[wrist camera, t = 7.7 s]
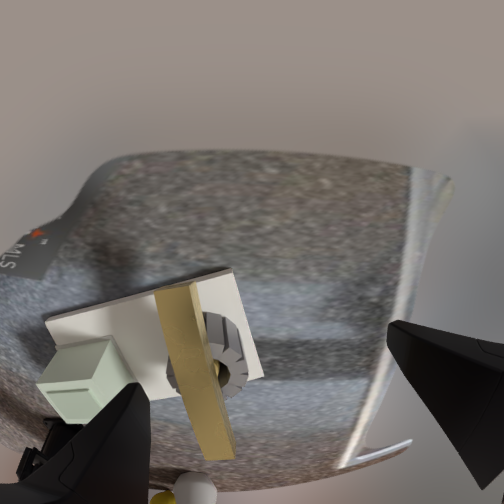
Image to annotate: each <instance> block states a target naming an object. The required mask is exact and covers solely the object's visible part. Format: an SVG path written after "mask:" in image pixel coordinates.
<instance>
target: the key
mask: <svg viewBox="0 0 504 504" xmlns="http://www.w3.org/2000/svg"><path fill="white" fill-rule="evenodd" d="M153 293H154V297H155V302H156V306H157V310H158V315H159V319H160V323H161V327H162V331H163V335H164V338H165V342H166V346H167V350H168V353H169V357H170V360H171V364H172V367H173V370H174V374H175V377H176V380H177V383H178V387H179V390H180V393H181V396H182V399H183V402H184V405H185V408H186V410H187V413H188V416H189V419H190V422H191V424H192V427H193V430H194V432H195V435H196V438H197V440H198V443H199V445H200V448H201V450H202V453H203V455H204V458H205V460H206V461H207V460H227V459H235V452H236V441H235V438H234V434H233V431H232V428H231V424H230V421H229V417H228V414H227V410H226V407H225V403H224V400H223V396H222V392H221V389H220V385H219V381H218V373H219V369H220V364H221V361H219V360H216V359H213V357H212V353H211V349H210V345H209V341H208V336H207V332H206V328H205V323H204V319H203V314H202V309H201V305H200V300H199V295H198V290H197V285H196V281H191V282H185V283H179V284H173V285H166V286H162V287H160V288H159V289H157V290H155V291H153Z"/></svg>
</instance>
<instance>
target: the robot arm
mask: <svg viewBox="0 0 504 504" xmlns="http://www.w3.org/2000/svg"><path fill="white" fill-rule="evenodd" d="M386 342H387V346H388V348H389V350H390V352H391V353H392V355H393V357H394V359H395V360H396V362H397V364H398V365H399V367H400V369H401V371H402V372H403V374H404V376H405V377H406V378H407V380H408V381H409V383H410V384H411V385H412V387H413V388H414V390H415V391H416V392H417V394H418V395H419V397H420V398H421V399H422V401H423V402H424V404H425V405H426V406H427V408H428V409H429V411H430V412H431V414H432V415H433V416H434V418H435V419H436V421H437V422H438V423H439V425H440V426H441V428H442V429H443V431H444V432H445V434H446V435H447V437H448V438H449V440H450V441H451V443H452V444H453V446H454V447H455V449H456V450H457V452H459V453H458V454H459V455H460V456H461V458H462V460H463V461H464V463H465V465H466V466H467V468H468V469H469V471H470V472H471V474H472V476H473V477H474V479H475V480H476V482H477V484H478V485H479V487H480V489H481V490H483V489H485V488H486V487H487V486H488V485H489V484H490V483H492V482H493V481H494V480H495V479H496V478H497V477H498V476H499V475H500V474H501V473H502V472H503V471H504V344H501V343H494V342H489V341H485V340H480V339H475V338H471V337H467V336H462V335H458V334H454V333H450V332H446V331H442V330H437V329H433V328H429V327H425V326H421V325H417V324H413V323H409V322H405V321H401V320H396V321H393V322H391V323H389V325H388V330H387V340H386ZM43 423H44V424H45V425H46V426H47V428H48V429H49V433H48V435H47V437H46V440H45V442H44V444H43V447H42V449H41V452H40V451H39V450H38V449H37V448H35V447H33V449H31V448H28V447H26V449H25V451H24V453H23V456H22V458H21V460H20V463H19V466H18V469H17V471H16V474H17V476H18V481H19V482H17V483H12V484H0V504H148V486H149V464H150V448H151V426H150V402H149V398H148V397H147V395H146V393H145V391H144V389H143V387H142V385H141V384H140V383H139V382H133V383H128V384H127V385H126V386H125V387H124V388H123V389H122V390H121V391H120V392H119V393H118V394H117V395H116V396H115V397H114V398H113V399H112V400H111V401H110V402H109V403H108V404H107V405H106V406H105V407H104V408H103V409H102V410H101V411H100V412H99V413H98V414H97V415H96V416H95V417H94V418H93V419H92V420H91V421H90V422H89V423H88V424H87V425H86V426H85V427H83V425H82V424H67V423H66V422H65V421H64V420H63V419H44V420H43ZM32 464H34V465H32ZM502 504H504V495H503V500H502Z"/></svg>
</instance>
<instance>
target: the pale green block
mask: <svg viewBox="0 0 504 504" xmlns="http://www.w3.org/2000/svg"><path fill="white" fill-rule="evenodd" d="M133 382H134V380H133V378H132V376H131V375H130V373H129V371H128V370H127V368H126V366H125V365H124V363H123V361H122V359H121V358H120V356H119V354H118V352H117V351H116V349H115V347H114V345H113V343H112V341H111V340H106V341H101V342H96V343H91V344H86V345H81V346H75V347H70V348H64V349H59V350H58V351H57V352H56V354H55V355H54V357H53V358H52V360H51V361H50V363H49V364H48V366H47V367H46V369H45V370H44V372H43V373H42V375H41V376H40V378H39V380H38V381H37V383H36V385H37V386H38V388H39V389H40V391H41V392H42V393H43V395H44V396H45V397H46V399H47V400H48V401H49V403H50V404H51V405H52V406H53V408H54V409H55V410H56V411H57V413H58V414H59V415H60V416H61V417H62V419H63V420H64V421H65V422H66V423H67V424H88V423H89V422H90V421H91V420H92V419H93V418H94V417H95V416H96V415H97V414H98V413H99V412H100V411H101V410H102V409H103V408H104V407H105V406H106V405H107V404H108V403H109V402H110V401H111V400H112V399H113V398H114V397H115V396H116V395H117V394H118V393H119V392H120V391H121V390H122V389H123V388H124V387H125V386H126V385H127V384H128V383H133Z"/></svg>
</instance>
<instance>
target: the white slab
mask: <svg viewBox="0 0 504 504" xmlns="http://www.w3.org/2000/svg"><path fill="white" fill-rule="evenodd" d="M191 281H196V285H197V290H198V295H199V300H200V305H201V309H202V314H203V319H204V323H205V328H206V332H207V336H208V341H209V345H210V349H211V353H212V357H213V359H216V360H219V361H221V364H220V369H219V373H218V381H219V385H220V389H221V392H222V396H223V400H227V396H228V397H230V398H232V397H233V396H235V395H236V394H237V393H239V392H240V391H241V390H242V387H245V384H246V382H247V381H249V380H252V379H256V378H260V377H263V376H264V374H263V371H262V367H261V364H260V361H259V358H258V355H257V351H256V348H255V345H254V342H253V338H252V335H251V332H250V328H249V325H248V322H247V318H246V315H245V312H244V308H243V305H242V302H241V298H240V295H239V292H238V288H237V285H236V281H235V278H234V274H233V271H232V268H230V269H226V270H223V271H219V272H215V273H212V274H208V275H205V276H201V277H197V278H194V279H190V280H186V281H183V282H179V283H185V282H191ZM179 283H176V284H179ZM172 285H173V284H172ZM157 289H159V288H157ZM157 289H154V290H150V291H146V292H142V293H139V294H135V295H131V296H128V297H124V298H120V299H116V300H113V301H109V302H105V303H101V304H98V305H94V306H90V307H86V308H83V309H79V310H75V311H71V312H67V313H63V314H60V315H56V316H52V317H49V318H48V319H47V320H46V321H45V324H46V326H47V328H48V330H49V332H50V334H51V336H52V337H53V339H54V341H55V343H56V345H57V346H55V348H56V350H57V351H58V350H59V349H64V348H70V347H75V346H81V345H86V344H91V343H96V342H101V341H106V340H111V341H112V343H113V345H114V347H115V349H116V351H117V352H118V354H119V356H120V358H121V359H122V361H123V363H124V365H125V366H126V368H127V370H128V371H129V373H130V375H131V376H132V378H133V380H134V382H139V383H140V384H141V385H142V387H143V389H144V391H145V393H146V395H147V397H148V398H149V401H150V400H157V399H164V398H170V397H176V396H181V393H180V390H179V387H178V383H177V380H176V377H175V374H174V370H173V367H172V364H171V360H170V357H169V353H168V350H167V346H166V342H165V338H164V335H163V331H162V327H161V323H160V319H159V315H158V310H157V306H156V302H155V297H154V293H153V291H155V290H157Z"/></svg>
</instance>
